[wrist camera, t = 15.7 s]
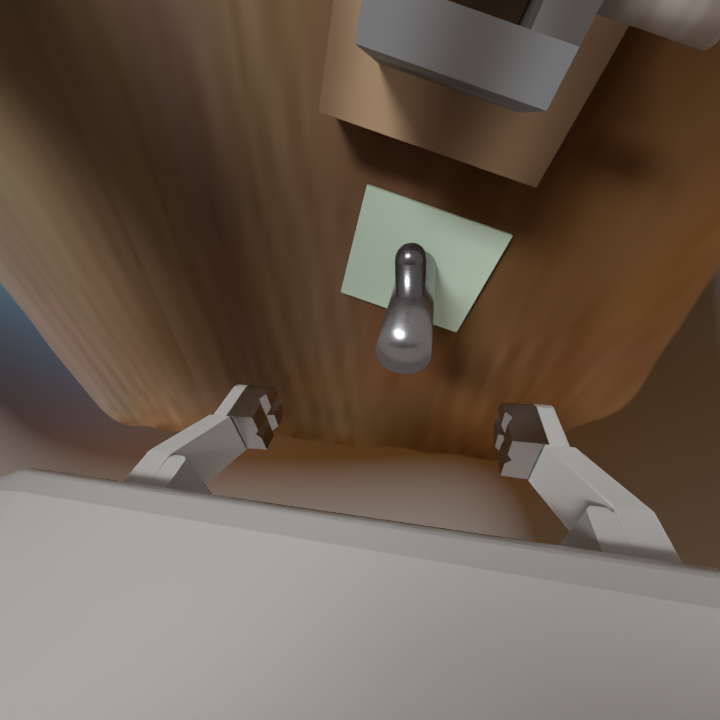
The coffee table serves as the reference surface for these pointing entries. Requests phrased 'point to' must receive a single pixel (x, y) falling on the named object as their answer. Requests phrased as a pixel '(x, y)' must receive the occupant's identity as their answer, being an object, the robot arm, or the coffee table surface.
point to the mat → (437, 237)
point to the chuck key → (409, 313)
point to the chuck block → (487, 69)
